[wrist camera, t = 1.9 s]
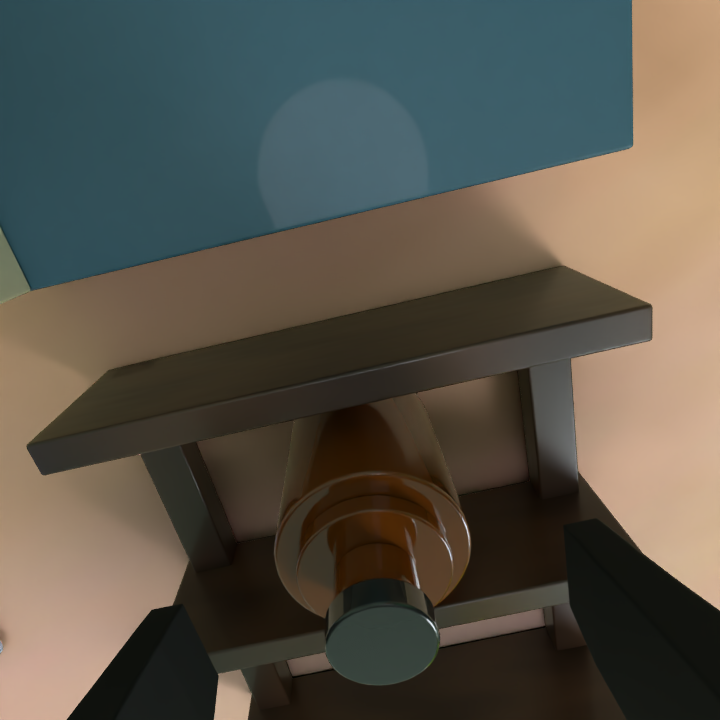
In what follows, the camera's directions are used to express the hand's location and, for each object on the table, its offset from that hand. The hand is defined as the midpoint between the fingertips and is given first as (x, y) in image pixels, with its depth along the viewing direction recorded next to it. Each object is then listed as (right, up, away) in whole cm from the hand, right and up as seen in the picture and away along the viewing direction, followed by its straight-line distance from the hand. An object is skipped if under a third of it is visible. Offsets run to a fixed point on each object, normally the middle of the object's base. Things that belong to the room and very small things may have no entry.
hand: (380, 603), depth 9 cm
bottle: (0, +2, +6) cm, 6 cm away
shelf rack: (0, -1, +7) cm, 7 cm away
